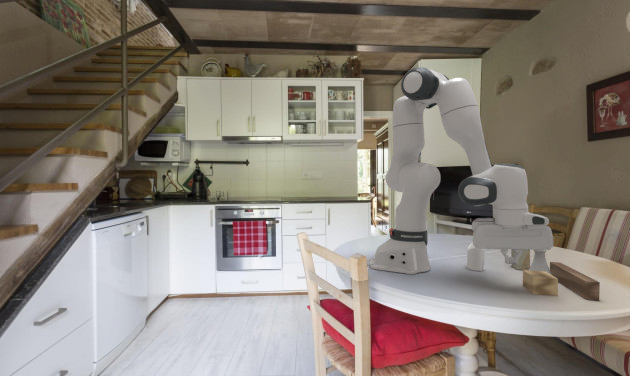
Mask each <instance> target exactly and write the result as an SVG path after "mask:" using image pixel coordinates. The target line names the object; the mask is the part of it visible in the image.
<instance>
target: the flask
mask: <svg viewBox="0 0 630 376" xmlns="http://www.w3.org/2000/svg"><path fill="white" fill-rule="evenodd" d="M546 252H547V250H533V253H534V255H533V260H532V262H531V263H530V269H529V270H530V271H545V272H547V273H549V274H551V272H550V266H549V265H548V262H547V258H546ZM551 275H552V274H551Z"/></svg>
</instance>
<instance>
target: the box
mask: <svg viewBox="0 0 630 376" xmlns="http://www.w3.org/2000/svg"><path fill="white" fill-rule="evenodd" d="M510 250H511V252H510V253H511V254H510V257H513V256H514V255H515V253H516V252H515V251H514V249H510ZM510 265H511V267H512V268H514V269H515V270H518V271H519V270H521V271H523V270H529V269H530V266H531V250H524V249H522V254H521V256H520V257H519V259H518V264H510Z"/></svg>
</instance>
